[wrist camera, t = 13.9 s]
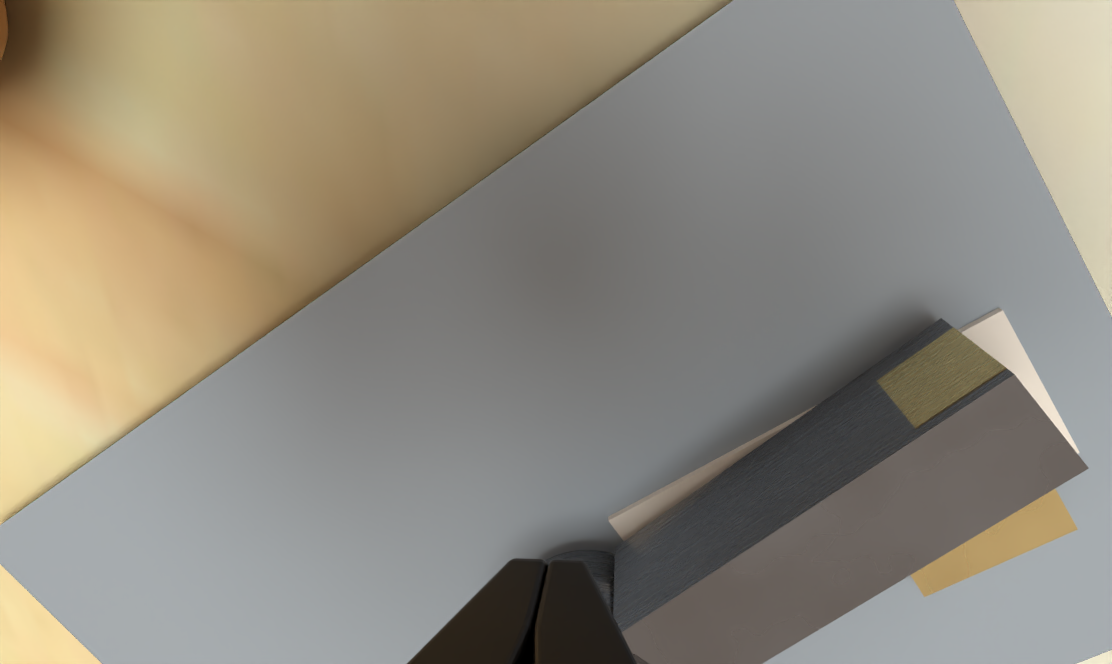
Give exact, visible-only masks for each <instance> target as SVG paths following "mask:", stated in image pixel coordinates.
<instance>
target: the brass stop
mask: <svg viewBox="0 0 1112 664" xmlns="http://www.w3.org/2000/svg"><path fill="white" fill-rule="evenodd" d="M1076 530H1078V528H1077V527H1076V525H1075V523H1074V521H1073V519H1072V518H1071V516H1070V514H1069V512H1068V510H1067V509H1066V507H1065V505H1064V503H1063V501H1062V500H1061V498H1060V496H1059V494H1058V492H1057V491H1056V489H1054V490H1052V491H1050V492H1049V493H1047V494H1045V495H1044V496H1042V497H1040V498H1039V499H1037V500H1035V501H1034V502H1032V503H1030V504H1029V505H1027V506H1025V507H1023V508H1022V509H1020V510H1018V511H1017V512H1015V513H1013V514H1012V515H1010V516H1008V517H1007V518H1005V519H1003V520H1002V521H1000V522H998V523H997V524H995V525H993V526H992V527H990V528H988V529H987V530H985V531H983V532H982V533H980V534H978V535H977V536H975V537H973V538H972V539H970V540H968V541H967V542H965V543H963V544H962V545H960V546H958V547H957V548H955V549H953V550H952V551H950V552H948V553H947V554H945V555H943V556H942V557H940V558H938V559H937V560H935V561H933V562H931V563H930V564H928V565H926V566H925V567H923V568H921V569H920V570H918V571H916V572H915V573H913V574H911V577H912V579H913V580H914V582H915V583H916V585H917V586H918V588H919V589H920V591H921V593H922V594H923V596H924V597H926V596H928V595H931V594H933V593H935V592H937V591H940V590H942V589H944V588H947V587H949V586H951V585H953V584H956V583H958V582H960V581H962V580H965V579H967V578H969V577H971V576H974V575H976V574H978V573H980V572H983V571H985V570H987V569H990V568H992V567H994V566H996V565H999V564H1001V563H1003V562H1005V561H1008V560H1010V559H1012V558H1014V557H1017V556H1019V555H1021V554H1023V553H1026V552H1028V551H1030V550H1033V549H1035V548H1037V547H1039V546H1042V545H1044V544H1046V543H1048V542H1051V541H1053V540H1055V539H1057V538H1060V537H1062V536H1064V535H1066V534H1069V533H1071V532H1073V531H1076Z"/></svg>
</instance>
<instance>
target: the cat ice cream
mask: <svg viewBox="0 0 1112 664" xmlns="http://www.w3.org/2000/svg"><path fill="white" fill-rule="evenodd" d="M7 40H8V22H7V13H6V7H5V1H4V0H0V61H1V58H2V56H3V53H4V50H5V47H6V43H7Z"/></svg>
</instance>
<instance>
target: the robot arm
mask: <svg viewBox="0 0 1112 664" xmlns="http://www.w3.org/2000/svg"><path fill="white" fill-rule="evenodd" d="M407 664H637V662H636V660H635V658H634V656H633V654H632V652H631V650H630V648H629V646H628V644H627V642H626V640H625V638H624V636H623V634H622V632H621V630H620V628H619V626H618V624H617V622H616V620H615V619H614V617H613V615H612V613H611V611H610V609H609V607H608V605H607V603H606V601H605V599H604V597H603V595H602V593H601V591H600V589H599V587H598V585H597V583H596V581H595V579H594V577H593V575H592V573H591V571H590V569H589V567H588V566H587V564H586V563H585V562H584V561H583V560H566V559H554V560H552V561H550V562H549V563H548V564H547V562H546V561H545V560H544V559H530V558H513V559H511V560H510V561H508V562H507V563H506V564H505V565H504V566H503V567H502V568H501V569H500V570H499V571H498V572H497V573H496V574H495V575H494V576H493V577H492V578H491V579H490V580H489V581H488V582H487V583H486V584H485V585H484V586H483V587H482V588H481V589H480V590H479V591H478V592H477V593H476V594H475V595H474V596H473V597H472V598H471V599H470V600H469V601H468V602H467V603H466V604H465V605H464V606H463V607H462V608H461V609H460V611H459V612H458V613H457V614H456V615H455V616H454V617H453V618H452V619H451V620H450V621H449V622H448V623H447V624H446V625H445V626H444V627H443V628H442V629H441V630H440V631H439V632H438V633H437V634H436V635H435V636H434V637H433V638H432V639H431V640H430V641H429V642H428V643H427V644H426V645H425V646H424V647H423V648H422V649H421V650H420V651H419V652H418V653H417V654H416V655H415V656H414V657H413V658H412V659H411V660H410V661H409V662H408V663H407Z"/></svg>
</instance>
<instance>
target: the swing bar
mask: <svg viewBox="0 0 1112 664" xmlns="http://www.w3.org/2000/svg"><path fill="white" fill-rule="evenodd" d="M1087 469H1089V468H1088V466H1087V465H1086V464H1085V463H1084V461H1083V460H1082V459H1081V458H1080V456H1079V455H1078V454H1077V452H1076V451H1075V450H1074V449H1073V447H1072V446H1071V445H1070V444H1069V442H1068V441H1067V440H1066V439H1065V437H1064V436H1063V435H1062V434H1061V432H1060V431H1059V430H1058V428H1057V427H1056V426H1055V425H1054V423H1053V422H1052V421H1051V420H1050V418H1049V417H1048V416H1047V415H1046V413H1045V412H1044V411H1043V410H1042V408H1041V407H1040V406H1039V405H1038V403H1037V402H1036V401H1035V399H1034V398H1033V397H1032V396H1031V394H1030V393H1029V392H1028V391H1027V389H1026V388H1025V387H1024V386H1023V384H1022V383H1021V382H1020V381H1019V379H1018V378H1017V377H1016V375H1015V374H1014V373H1012V372H1011V371H1010V370H1008V369H1007V368H1006V367H1005V366H1003V365H1002V364H1001V363H1000V362H998V361H997V360H996V359H994V358H993V357H992V356H990V355H989V354H988V353H987V352H985V351H984V350H983V349H981V348H980V347H979V346H977V345H976V344H975V343H974V342H972V341H971V340H970V339H968V338H967V337H966V336H964V335H963V334H962V333H961V332H959V331H958V330H957V329H955V328H954V327H952V326H951V325H950V324H948V323H947V322H946V321H945V320H943V319H942V318H940V319H939V320H937V321H936V322H935V323H933V324H932V325H930V326H929V327H928V328H926V329H925V330H923V331H922V332H920V333H919V334H918V335H916V336H915V337H913V338H912V339H911V340H909V341H908V342H906V343H905V344H903V345H902V346H901V347H899V348H898V349H896V350H895V351H893V352H892V353H891V354H889V355H888V356H886V357H885V358H884V359H882V360H881V361H879V362H878V363H876V364H875V365H874V366H872V367H871V368H869V369H868V370H866V371H865V372H864V373H862V374H861V375H859V376H858V377H857V378H855V379H854V380H852V381H851V382H849V383H848V384H847V385H845V386H844V387H842V388H841V389H839V390H838V391H837V392H835V393H834V394H832V395H831V396H830V397H828V398H827V399H825V400H824V401H822V402H821V403H820V404H818V405H817V406H815V407H814V408H813V409H811V410H810V411H808V412H807V413H805V414H804V415H803V416H801V417H800V418H798V419H797V420H795V421H794V422H793V423H791V424H790V425H788V426H787V427H786V428H784V429H783V430H781V431H780V432H778V433H777V434H776V435H774V436H773V437H771V438H770V439H768V440H767V441H766V442H764V443H763V444H761V445H760V446H759V447H757V448H756V449H754V450H753V451H751V452H750V453H749V454H747V455H746V456H744V457H743V458H741V459H740V460H739V461H737V462H736V463H734V464H733V465H732V466H730V467H729V468H727V469H726V470H724V471H723V472H722V473H720V474H719V475H717V476H716V477H715V478H713V479H712V480H710V481H709V482H707V483H706V484H705V485H703V486H702V487H700V488H699V489H697V490H696V491H695V492H693V493H692V494H690V495H689V496H688V497H686V498H685V499H683V500H682V501H680V502H679V503H678V504H676V505H675V506H673V507H672V508H670V509H669V510H668V511H666V512H665V513H663V514H662V515H661V516H659V517H658V518H656V519H655V520H653V521H652V522H651V523H649V524H648V525H646V526H645V527H643V528H642V529H641V530H639V531H638V532H636V533H635V534H634V535H632V536H631V537H629V538H628V539H626V540H625V541H624V542H622V543H621V544H619V545H618V546H617V547H615V554H614V553H610V552H606V551H599V550H575V551H570V552H565V553H562V554H559V555H556V556H554V557H551V558H549V559H547V560H545V561H546V562H547V564H548V563H549V562H550V561H552V560H554V559H566V560H583V561H584V562H585V563H586V564H587V566H588V567H589V569H590V571H591V573H592V575H593V577H594V579H595V581H596V583H597V585H598V587H599V589H600V591H601V593H602V595H603V597H604V599H605V601H606V603H607V605H608V607H609V609H610V611H611V613H612V615H613V617H614V619H615V620H616V622H617V624H618V626H619V628H620V630H621V632H622V634H623V636H624V638H625V640H626V642H627V644H628V646H629V648H630V650H631V652H632V654H633V656H634V658H635V660H636V662H637V664H763V663H764V662H766V661H768V660H769V659H771V658H773V657H774V656H776V655H778V654H779V653H781V652H783V651H784V650H786V649H788V648H789V647H791V646H793V645H794V644H796V643H798V642H799V641H801V640H803V639H804V638H806V637H808V636H809V635H811V634H813V633H814V632H816V631H818V630H819V629H821V628H823V627H824V626H826V625H828V624H829V623H831V622H833V621H834V620H836V619H838V618H840V617H841V616H843V615H845V614H846V613H848V612H850V611H851V610H853V609H855V608H856V607H858V606H860V605H861V604H863V603H865V602H866V601H868V600H870V599H871V598H873V597H875V596H876V595H878V594H880V593H881V592H883V591H885V590H886V589H888V588H890V587H891V586H893V585H895V584H896V583H898V582H900V581H901V580H903V579H905V578H906V577H908V576H910V575H911V574H913V573H915V572H916V571H918V570H920V569H921V568H923V567H925V566H926V565H928V564H930V563H931V562H933V561H935V560H937V559H938V558H940V557H942V556H943V555H945V554H947V553H948V552H950V551H952V550H953V549H955V548H957V547H958V546H960V545H962V544H963V543H965V542H967V541H968V540H970V539H972V538H973V537H975V536H977V535H978V534H980V533H982V532H983V531H985V530H987V529H988V528H990V527H992V526H993V525H995V524H997V523H998V522H1000V521H1002V520H1003V519H1005V518H1007V517H1008V516H1010V515H1012V514H1013V513H1015V512H1017V511H1018V510H1020V509H1022V508H1023V507H1025V506H1027V505H1029V504H1030V503H1032V502H1034V501H1035V500H1037V499H1039V498H1040V497H1042V496H1044V495H1045V494H1047V493H1049V492H1050V491H1052V490H1054V489H1055V488H1057V487H1059V486H1060V485H1062V484H1064V483H1065V482H1067V481H1069V480H1070V479H1072V478H1074V477H1075V476H1077V475H1079V474H1080V473H1082V472H1084V471H1085V470H1087Z"/></svg>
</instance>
